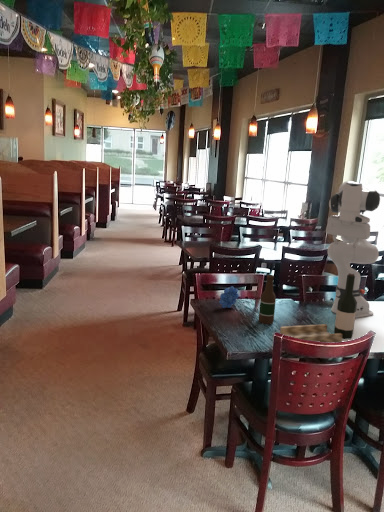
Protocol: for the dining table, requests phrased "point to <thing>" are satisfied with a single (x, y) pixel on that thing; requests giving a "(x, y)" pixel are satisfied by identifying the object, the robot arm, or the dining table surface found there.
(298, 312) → the dining table surface
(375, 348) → the dining table surface
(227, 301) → the grapes
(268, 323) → the beer bottle
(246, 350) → the dining table surface
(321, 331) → the cradle
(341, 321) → the wine bottle
